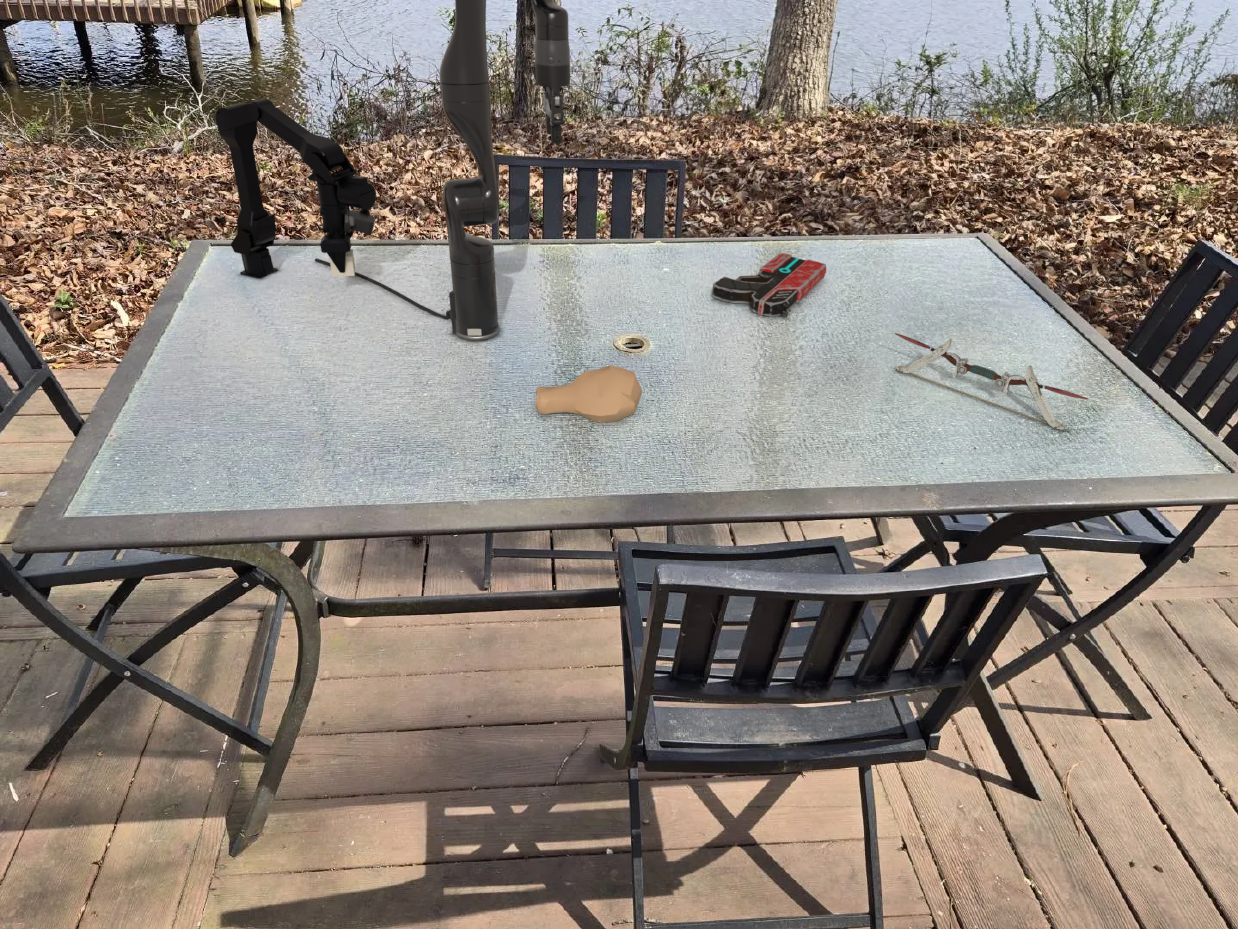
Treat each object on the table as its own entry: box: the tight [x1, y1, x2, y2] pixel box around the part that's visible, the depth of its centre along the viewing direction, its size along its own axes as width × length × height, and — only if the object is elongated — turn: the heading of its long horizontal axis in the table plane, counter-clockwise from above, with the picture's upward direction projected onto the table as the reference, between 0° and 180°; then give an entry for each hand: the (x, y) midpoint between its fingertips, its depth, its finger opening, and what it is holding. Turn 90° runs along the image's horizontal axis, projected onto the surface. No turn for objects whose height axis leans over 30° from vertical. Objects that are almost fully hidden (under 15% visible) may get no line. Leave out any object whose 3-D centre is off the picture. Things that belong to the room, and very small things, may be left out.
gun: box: [711, 252, 827, 318], centre depth 215 cm, size 4×31×19 cm
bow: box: [894, 332, 1090, 431], centre depth 170 cm, size 39×2×10 cm, turn 47°
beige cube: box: [328, 248, 357, 278], centre depth 204 cm, size 5×5×5 cm
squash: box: [534, 364, 643, 424], centre depth 162 cm, size 11×20×9 cm, turn 90°
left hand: (343, 268), depth 205 cm, fingers closed on beige cube, 4 cm apart
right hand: (553, 138), depth 199 cm, fingers open, 8 cm apart
